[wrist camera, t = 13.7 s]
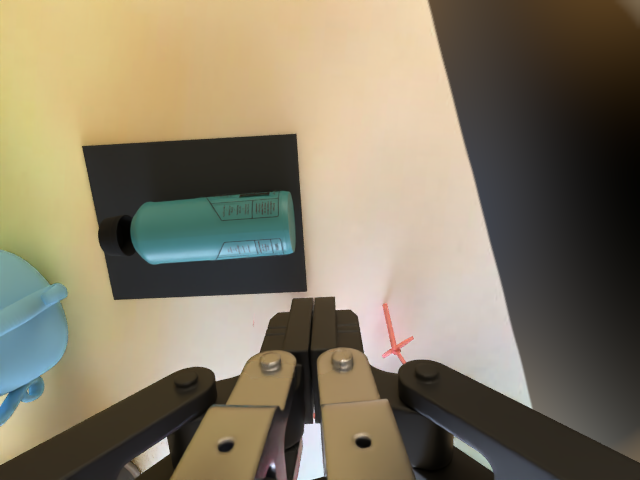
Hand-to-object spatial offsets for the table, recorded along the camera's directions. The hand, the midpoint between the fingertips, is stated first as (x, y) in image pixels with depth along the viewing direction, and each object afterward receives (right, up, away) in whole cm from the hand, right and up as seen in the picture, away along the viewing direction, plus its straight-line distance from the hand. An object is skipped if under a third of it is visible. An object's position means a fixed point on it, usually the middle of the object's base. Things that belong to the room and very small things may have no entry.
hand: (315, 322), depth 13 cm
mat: (-13, +5, +27) cm, 31 cm away
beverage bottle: (-1, +5, +23) cm, 24 cm away
